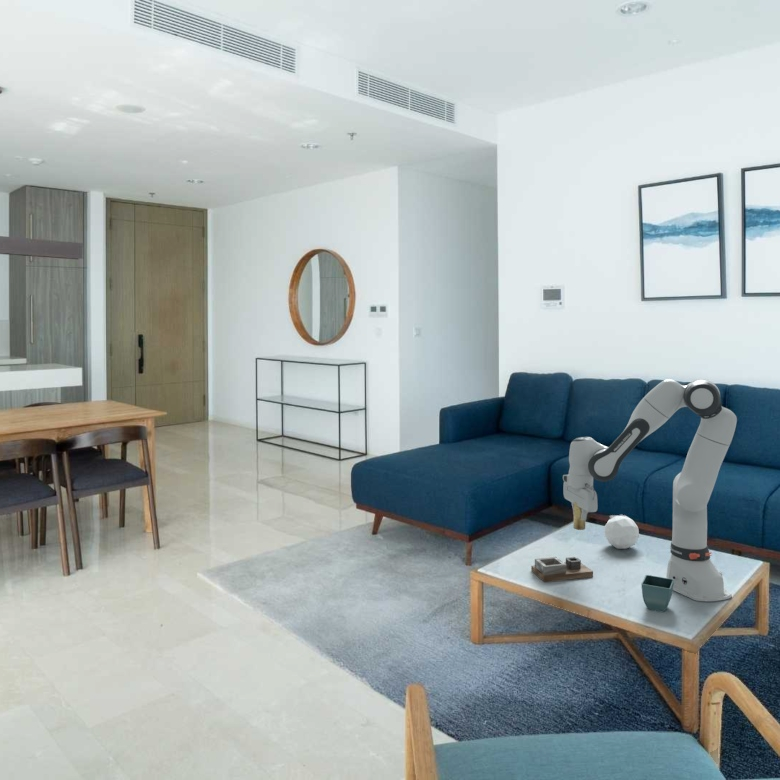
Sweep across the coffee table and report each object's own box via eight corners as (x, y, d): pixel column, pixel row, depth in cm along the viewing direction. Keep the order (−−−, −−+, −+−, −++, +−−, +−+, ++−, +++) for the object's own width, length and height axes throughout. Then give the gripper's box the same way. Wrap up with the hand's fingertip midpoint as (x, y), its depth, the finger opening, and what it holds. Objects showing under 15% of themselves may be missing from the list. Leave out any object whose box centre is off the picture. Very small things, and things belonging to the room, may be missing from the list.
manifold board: (592, 576, 249) (593, 563, 249) (544, 582, 245) (544, 568, 245) (578, 566, 260) (578, 553, 259) (531, 571, 256) (531, 558, 255)
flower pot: (670, 616, 216) (670, 588, 215) (640, 610, 220) (641, 583, 219) (673, 605, 224) (674, 579, 223) (645, 600, 228) (645, 574, 227)
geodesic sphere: (592, 536, 277) (615, 511, 272) (596, 526, 289) (617, 502, 285) (622, 560, 273) (645, 536, 269) (625, 549, 286) (646, 525, 281)
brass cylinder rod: (587, 529, 253) (588, 503, 252) (576, 530, 252) (577, 503, 251) (581, 526, 257) (582, 499, 256) (571, 526, 257) (572, 500, 255)
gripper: (602, 487, 243) (601, 525, 245) (576, 473, 263) (574, 509, 265) (586, 488, 242) (585, 526, 244) (560, 474, 262) (559, 510, 264)
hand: (579, 517), depth 254 cm, fingers closed on brass cylinder rod, 4 cm apart
